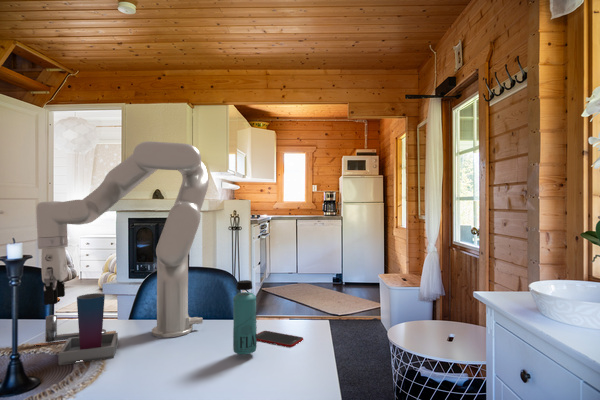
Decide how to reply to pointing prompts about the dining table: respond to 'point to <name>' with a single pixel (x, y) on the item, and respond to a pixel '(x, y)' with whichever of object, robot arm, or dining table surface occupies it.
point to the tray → (88, 350)
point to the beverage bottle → (244, 319)
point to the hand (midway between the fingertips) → (55, 300)
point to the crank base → (65, 340)
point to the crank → (52, 330)
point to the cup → (90, 319)
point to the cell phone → (278, 338)
